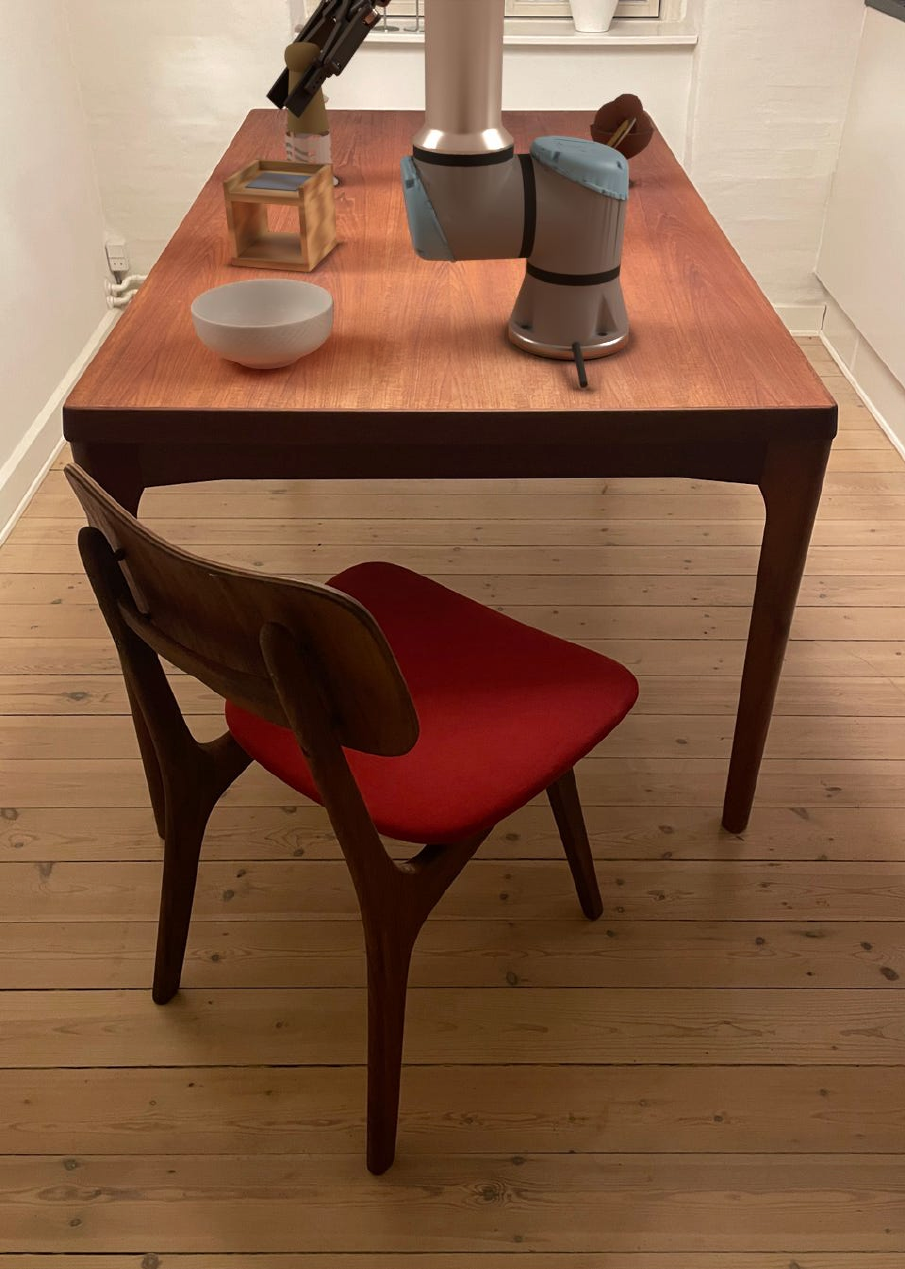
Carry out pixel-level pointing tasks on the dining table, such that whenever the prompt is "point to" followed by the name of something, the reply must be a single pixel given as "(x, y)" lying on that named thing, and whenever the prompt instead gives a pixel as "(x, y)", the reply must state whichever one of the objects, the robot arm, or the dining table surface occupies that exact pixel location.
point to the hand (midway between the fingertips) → (282, 106)
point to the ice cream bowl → (614, 117)
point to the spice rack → (281, 187)
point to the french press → (307, 140)
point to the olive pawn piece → (297, 64)
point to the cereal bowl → (264, 321)
